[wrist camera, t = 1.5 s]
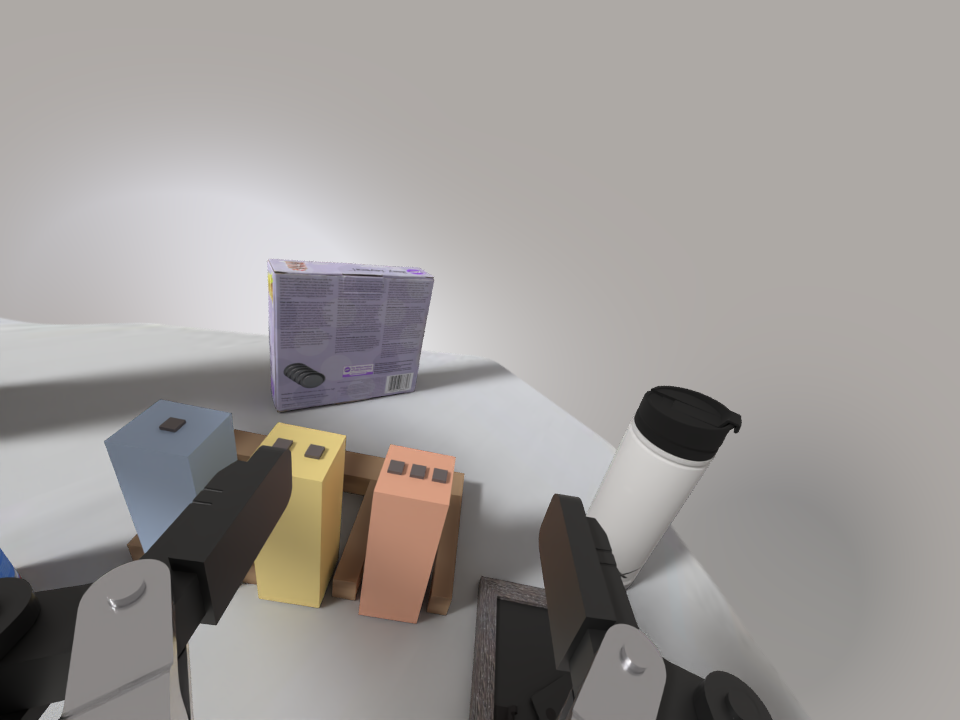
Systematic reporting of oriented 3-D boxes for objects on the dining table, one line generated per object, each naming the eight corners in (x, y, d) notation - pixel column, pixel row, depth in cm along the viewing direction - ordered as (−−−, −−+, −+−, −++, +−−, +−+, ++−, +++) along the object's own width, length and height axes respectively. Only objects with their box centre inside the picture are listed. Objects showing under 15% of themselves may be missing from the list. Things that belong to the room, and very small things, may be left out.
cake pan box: (409, 373, 59) (426, 263, 50) (423, 391, 55) (444, 277, 47) (270, 391, 48) (261, 256, 39) (276, 415, 45) (268, 273, 36)
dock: (134, 564, 28) (126, 544, 27) (236, 447, 40) (234, 429, 38) (446, 615, 30) (451, 598, 29) (459, 489, 41) (464, 473, 40)
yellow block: (258, 598, 28) (242, 464, 21) (286, 546, 32) (279, 417, 25) (319, 608, 29) (322, 479, 22) (339, 555, 32) (347, 430, 25)
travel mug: (626, 610, 34) (742, 442, 24) (560, 563, 37) (640, 395, 27) (643, 560, 38) (745, 404, 29) (583, 522, 41) (658, 368, 32)
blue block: (154, 581, 28) (102, 438, 21) (195, 530, 31) (162, 394, 24) (217, 591, 28) (187, 453, 21) (250, 540, 32) (233, 408, 25)
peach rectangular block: (358, 614, 29) (373, 488, 22) (374, 561, 32) (391, 439, 26) (416, 623, 29) (449, 502, 22) (425, 570, 33) (456, 452, 26)
